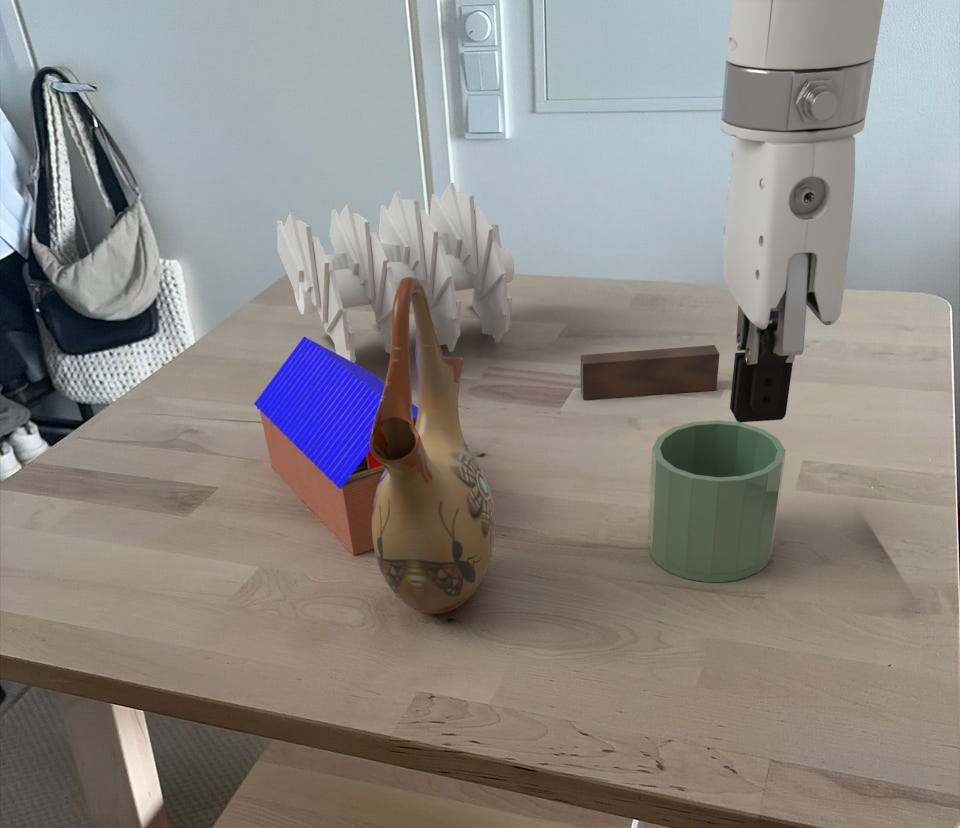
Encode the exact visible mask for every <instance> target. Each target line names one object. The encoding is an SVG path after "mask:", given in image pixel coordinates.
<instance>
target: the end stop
mask: <svg viewBox="0 0 960 828" xmlns="http://www.w3.org/2000/svg"><path fill="white" fill-rule="evenodd" d="M719 364H720V352H719V350H718V348H717V347H716V345H715V344H710V345H709V344H708V345H695V346H684V347H682V346H681V347H669V348H657V349H644V350H643V349H642V350H631V351H630V350H628V351H616V352H615V351H614V352H604V353H590V354H580V392H581V393H580V394H581V397H582V400H583V401H586V400H587V401H588V400H589V401H590V400H601V399H614V398H628V397H629V398H630V397H642V396H652V395H653V396H654V395H668V394H683V393H696V392H707V391H708V392H709V391H717V390H718V377H719Z"/></svg>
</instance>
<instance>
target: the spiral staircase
mask: <svg viewBox="0 0 960 828" xmlns="http://www.w3.org/2000/svg"><path fill="white" fill-rule="evenodd" d="M430 199H431V200H430V208H429V215H428V213H427V211H426V210H425V209H421V210H420V203H419V200H418V199H417V200H416V199H403V197H402V194H401V190H395V191H394V193H393V196H392V199H391V201H390V204H389V206H388V208H387V206H386V205H385V204H381V205H380V209H379V228H378V229H379V231H378V234H377V232H376V231H371V229H370V228H371V227H370V221H369V220H368V219H366V218H365V217H363V216H362V215H361V214H359V213H358V212H354V209H353V205H352V203H351V202H350V203H346V204H345V206H344V207H343V209H342V211H341V212H340V214H339V213H338V211H337V209H336V208H335V209H331V210H330V211H331V213H330V224H329V225H330V226H329V240H330V243H331V245H332V247H333V250H334V253H329V254H326V252H325V250H324V247H323V245H322V243H321V241H320V239H319V237H318V235H314V236H313V235H312V227H311V225H309V224H307V223H306V222H304V221H303V220H300V219H298V220H297V217H296V212H295V210H290V211H289V212H288V215H287V218H286V220H285V224H284V223H283V221H282V219H279V220H276V239H277V240H276V243H277V244H276V245H277V246H276V248H277V249H276V251H277V254H278V256H279V258H280V260H281V262H282V265H283V267H284V269H285V272H286V275H287V276H288V279H289V282H290V284H291V286H292V289H293V294H294V298H295V303H296V305H297V309H298V312H299V313H300V314H301V316H304V315H309V314H316V313H317V314H318V317H319V319H320V321H321V323H322V326H323V331H324V333H325V334H327V335H328V336H329V337H330V339H331V340H332V342H333V344H334V352H335V353H336V354H338V355H340V356H342V357H344V358H345V359H347V360H349V361H351V362H353V363H355V364H356V361H357V358H356V355H355V332H354V330H353V329H352V327H351V324H350V323H349V321H348V314H347V310H345V309H349V308H356V307H362V306H369V305H370V306H371V308H372V310H373V313H374V317H375V323H376V324H377V325H378V326H379V328H380V330H381V332H382V337H383V345H384V351H385V353H387V354H389V355H390V353H391V341H392V309H393V302H394V297H395V294H396V291H397V288H398V286H399V283H400V281H401V279H403V278H406V277H416V278H417V279H419V280H420V281H421V283H422V284H423V286H424V289H425V292H426V296H427V300H428V304H429V308H430V313H431V317H432V321H433V325H434V329H435V333H436V336H437V339H438V342H439V345H440V346H442V345H443V346H444V345H446V347H447V350H448V352H449V353H451V352H454V350H455V347H456V345H457V343H458V340H459V337H461V315H462V301H461V299H459V297H458V296H457V295H456V292H458V291H464V290H472V289H473V293H472V294H473V295H472V306H471V307H472V309H473V311H475V313H476V314H477V316H478V317H479V318H480V323H481V324H480V325H481V331H482V335H492V337H493V341H494V343H495V344H498V343H500V342H501V340H502V339H503V337H504V335H505V333H506V332H508V331H510V322H511V313H512V303H513V297H512V296H511V294H509V292H508V284H509V283H511V282H512V281H513V280H514V276H515V261H514V257H513V253H512V252H511V249H510V248H509V247H508V246H506V245H505V246H502V245H501V238H500V237H501V235H500V227H499V224H498V223H496V224H491V222H490V221H489V219H488V218H487V216H486V214H485V212H484V210H483V209H482V207H481V206H480V204H477V205H475V198H474V195H473V194H469V193H467V192H463V191H456V186H455V182H449V183H448V185H447V187H446V188H445V189H444V191H443V193H442V194H441V196H440V198H439V196H438V194H437V193H432V194H431V198H430Z"/></svg>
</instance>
